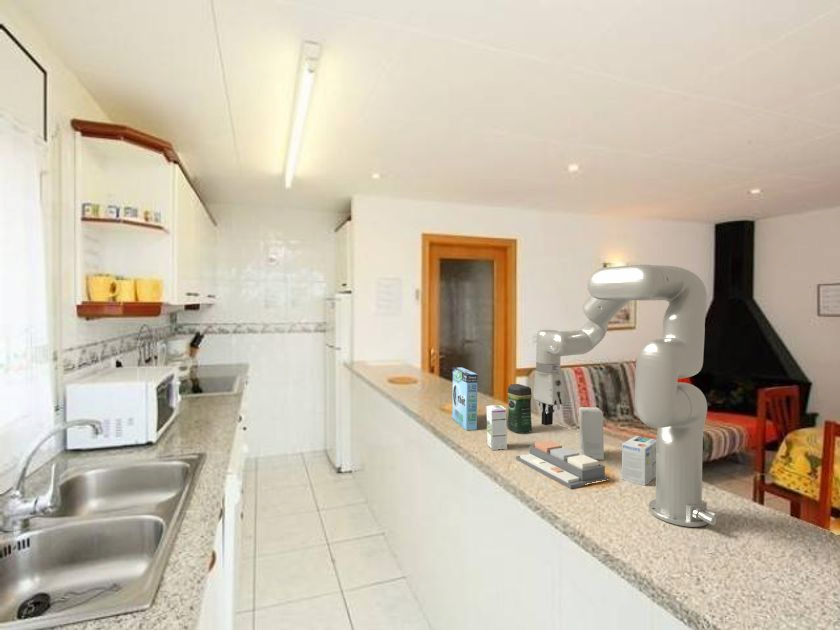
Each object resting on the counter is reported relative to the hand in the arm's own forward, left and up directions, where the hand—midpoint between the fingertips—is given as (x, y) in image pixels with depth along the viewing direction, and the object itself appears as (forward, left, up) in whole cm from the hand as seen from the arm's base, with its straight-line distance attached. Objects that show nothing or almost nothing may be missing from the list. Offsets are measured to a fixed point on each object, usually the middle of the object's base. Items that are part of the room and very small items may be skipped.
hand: (547, 424), depth 143 cm
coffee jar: (+31, -12, -12) cm, 36 cm away
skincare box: (-3, -16, -12) cm, 20 cm away
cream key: (-16, 0, -9) cm, 18 cm away
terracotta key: (-1, 0, -9) cm, 9 cm away
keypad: (-8, +2, -12) cm, 14 cm away
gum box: (+49, +4, -12) cm, 50 cm away
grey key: (-8, 0, -9) cm, 12 cm away
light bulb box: (-23, -15, -12) cm, 30 cm away
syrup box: (+17, +8, -12) cm, 22 cm away
